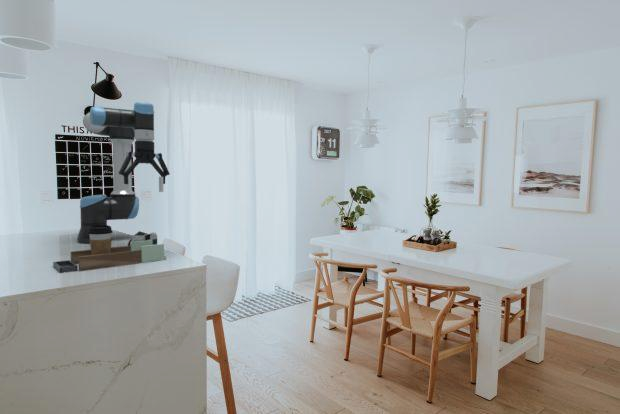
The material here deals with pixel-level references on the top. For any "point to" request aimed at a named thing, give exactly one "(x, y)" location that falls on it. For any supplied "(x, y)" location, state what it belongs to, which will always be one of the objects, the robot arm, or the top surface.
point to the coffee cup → (100, 239)
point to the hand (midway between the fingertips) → (145, 192)
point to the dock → (149, 250)
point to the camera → (144, 237)
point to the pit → (65, 266)
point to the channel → (106, 258)
